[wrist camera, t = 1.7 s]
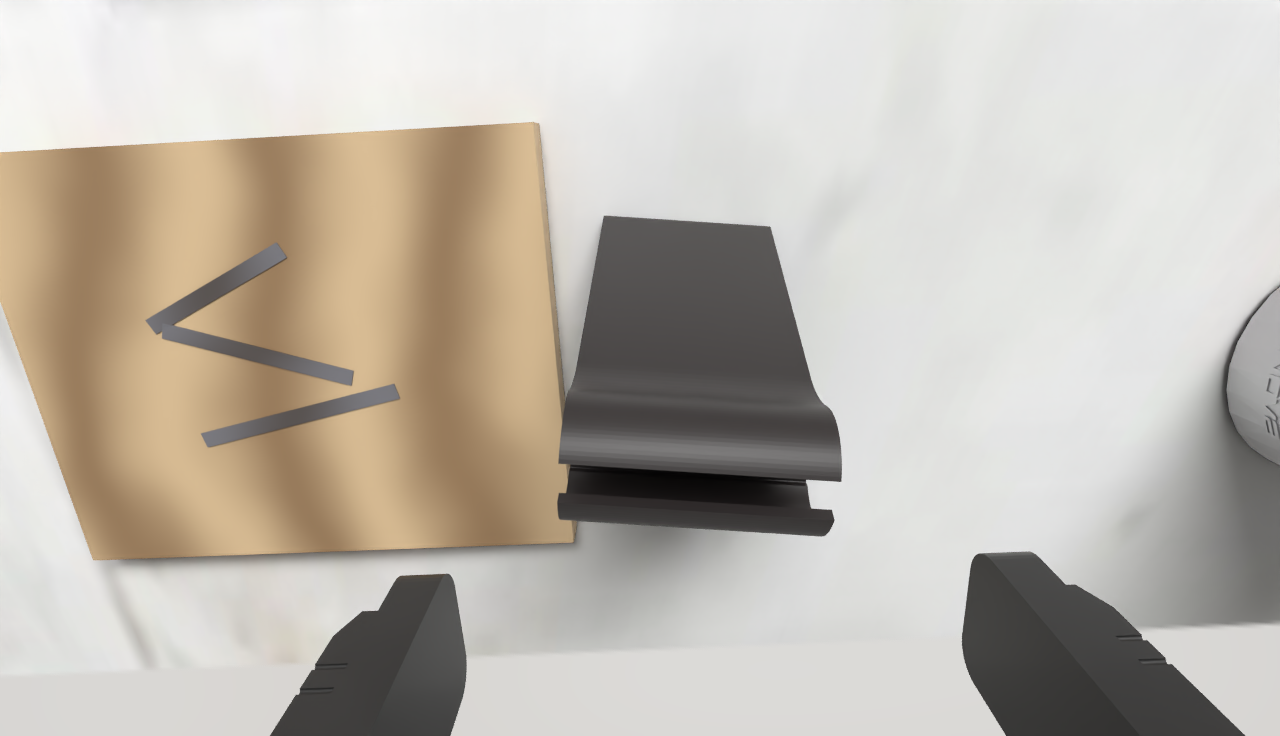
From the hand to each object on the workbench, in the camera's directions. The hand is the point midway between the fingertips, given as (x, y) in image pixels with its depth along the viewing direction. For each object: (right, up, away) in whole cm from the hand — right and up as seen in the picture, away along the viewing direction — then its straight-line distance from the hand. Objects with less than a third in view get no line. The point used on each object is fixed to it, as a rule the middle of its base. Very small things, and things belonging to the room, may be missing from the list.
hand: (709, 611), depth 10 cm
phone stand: (0, +5, +15) cm, 16 cm away
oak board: (-14, +4, +15) cm, 21 cm away
